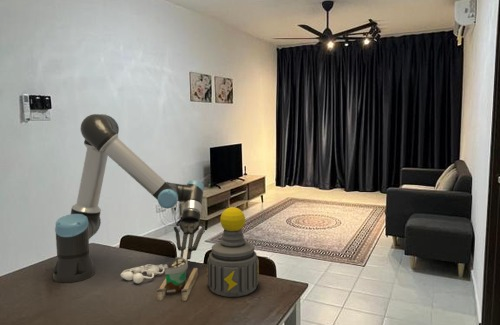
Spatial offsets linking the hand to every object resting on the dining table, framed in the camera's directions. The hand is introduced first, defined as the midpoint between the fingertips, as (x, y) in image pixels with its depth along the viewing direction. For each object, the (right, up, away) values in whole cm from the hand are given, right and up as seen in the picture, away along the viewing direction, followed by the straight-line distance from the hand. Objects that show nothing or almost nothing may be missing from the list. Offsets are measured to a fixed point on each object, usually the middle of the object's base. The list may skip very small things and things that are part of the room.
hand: (184, 266), depth 149 cm
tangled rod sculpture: (-17, -5, +5) cm, 19 cm away
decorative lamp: (+19, -6, -6) cm, 21 cm away
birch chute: (-1, -6, -6) cm, 8 cm away
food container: (0, -6, -8) cm, 10 cm away
